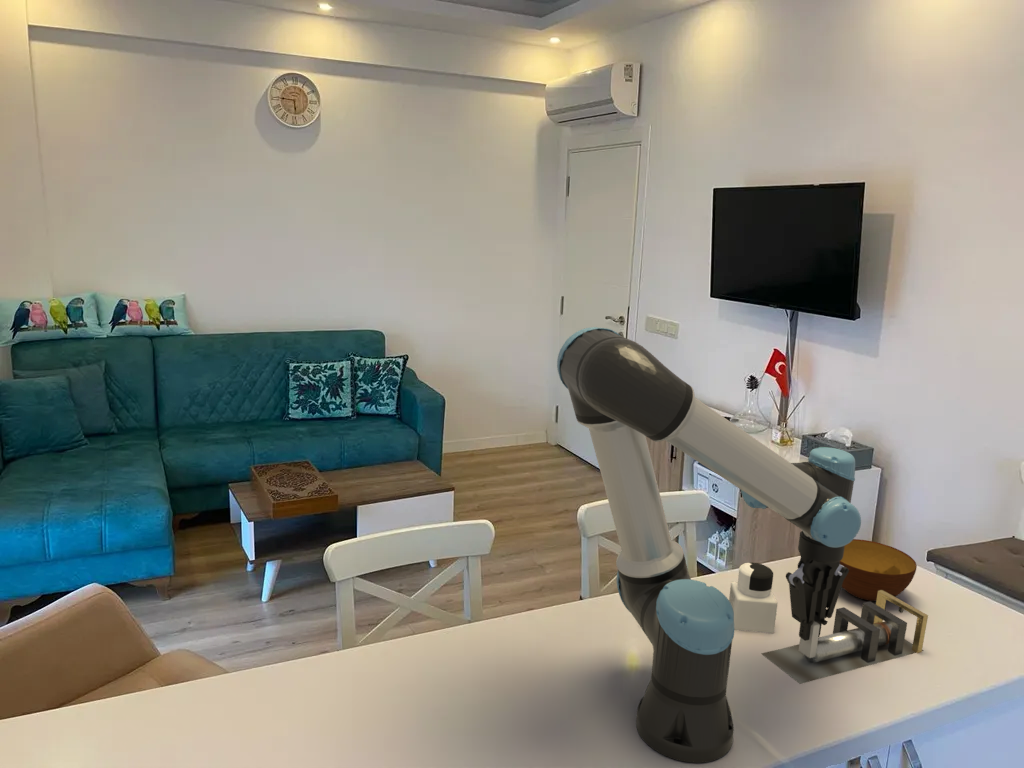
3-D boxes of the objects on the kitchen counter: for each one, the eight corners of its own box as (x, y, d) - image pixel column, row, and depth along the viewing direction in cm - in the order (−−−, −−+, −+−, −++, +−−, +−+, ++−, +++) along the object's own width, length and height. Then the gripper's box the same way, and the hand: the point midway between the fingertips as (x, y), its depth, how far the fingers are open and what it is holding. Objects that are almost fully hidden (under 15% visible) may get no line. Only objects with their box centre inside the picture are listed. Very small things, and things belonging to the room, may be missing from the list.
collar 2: (894, 655, 141) (899, 624, 140) (858, 632, 149) (862, 603, 147) (902, 653, 142) (907, 622, 141) (865, 630, 150) (870, 601, 148)
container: (764, 617, 155) (771, 560, 152) (773, 638, 148) (781, 577, 145) (726, 614, 156) (733, 557, 153) (733, 634, 148) (740, 574, 146)
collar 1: (867, 662, 139) (872, 631, 137) (831, 639, 146) (836, 608, 145) (875, 660, 139) (880, 629, 138) (839, 637, 147) (844, 607, 146)
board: (799, 689, 131) (799, 684, 131) (760, 658, 140) (760, 653, 140) (923, 655, 144) (924, 650, 143) (880, 629, 152) (880, 624, 152)
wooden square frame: (917, 653, 142) (923, 616, 141) (872, 625, 152) (877, 590, 150) (921, 652, 143) (928, 615, 141) (876, 624, 152) (882, 589, 150)
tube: (816, 668, 137) (820, 648, 135) (800, 654, 140) (804, 635, 139) (895, 647, 144) (900, 628, 143) (877, 634, 148) (882, 616, 147)
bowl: (912, 593, 168) (919, 552, 166) (905, 627, 154) (913, 582, 151) (829, 571, 177) (835, 532, 175) (815, 602, 163) (821, 559, 160)
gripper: (810, 548, 127) (794, 671, 132) (866, 537, 132) (849, 657, 137) (779, 531, 133) (765, 649, 139) (833, 521, 138) (818, 636, 144)
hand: (807, 653), depth 138 cm, fingers closed
